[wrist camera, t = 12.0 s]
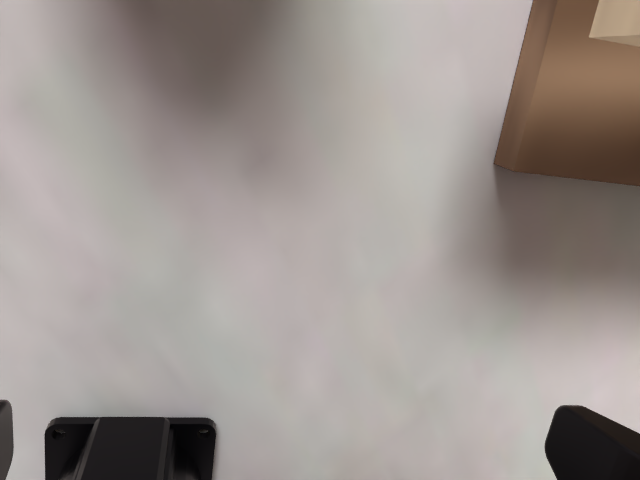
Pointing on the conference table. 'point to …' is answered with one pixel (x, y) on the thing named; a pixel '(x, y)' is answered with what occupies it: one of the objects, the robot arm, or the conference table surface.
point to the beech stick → (617, 21)
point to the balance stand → (573, 100)
